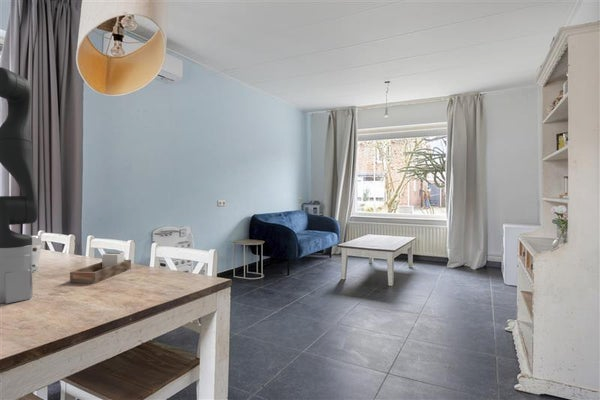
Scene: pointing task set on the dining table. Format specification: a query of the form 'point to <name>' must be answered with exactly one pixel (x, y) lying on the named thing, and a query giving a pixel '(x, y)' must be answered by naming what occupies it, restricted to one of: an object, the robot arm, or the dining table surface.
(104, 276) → the wooden tray
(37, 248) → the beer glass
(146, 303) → the dining table surface
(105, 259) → the slider block
